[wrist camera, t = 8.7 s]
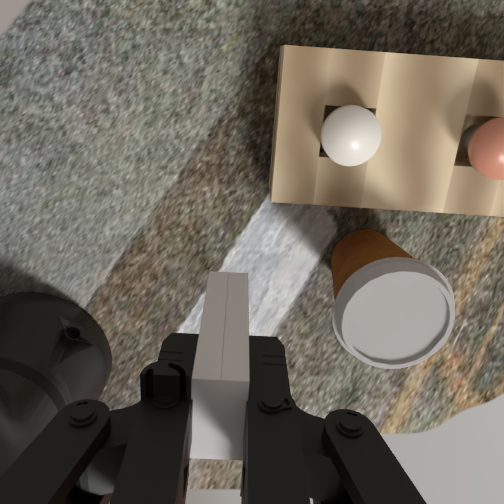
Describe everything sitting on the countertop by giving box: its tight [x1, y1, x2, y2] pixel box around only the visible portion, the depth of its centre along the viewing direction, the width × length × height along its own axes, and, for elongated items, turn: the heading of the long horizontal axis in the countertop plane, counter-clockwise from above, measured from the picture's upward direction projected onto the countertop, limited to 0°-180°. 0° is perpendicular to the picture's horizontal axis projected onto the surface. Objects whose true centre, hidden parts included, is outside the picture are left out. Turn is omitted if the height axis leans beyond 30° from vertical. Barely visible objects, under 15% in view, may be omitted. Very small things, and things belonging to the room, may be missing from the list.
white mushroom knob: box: [320, 105, 382, 166], centre depth 37 cm, size 4×4×5 cm
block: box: [269, 45, 504, 217], centre depth 39 cm, size 22×12×5 cm, turn 86°
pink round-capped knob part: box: [461, 117, 504, 180], centre depth 36 cm, size 4×4×5 cm
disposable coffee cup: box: [331, 229, 455, 369], centre depth 41 cm, size 10×10×12 cm
